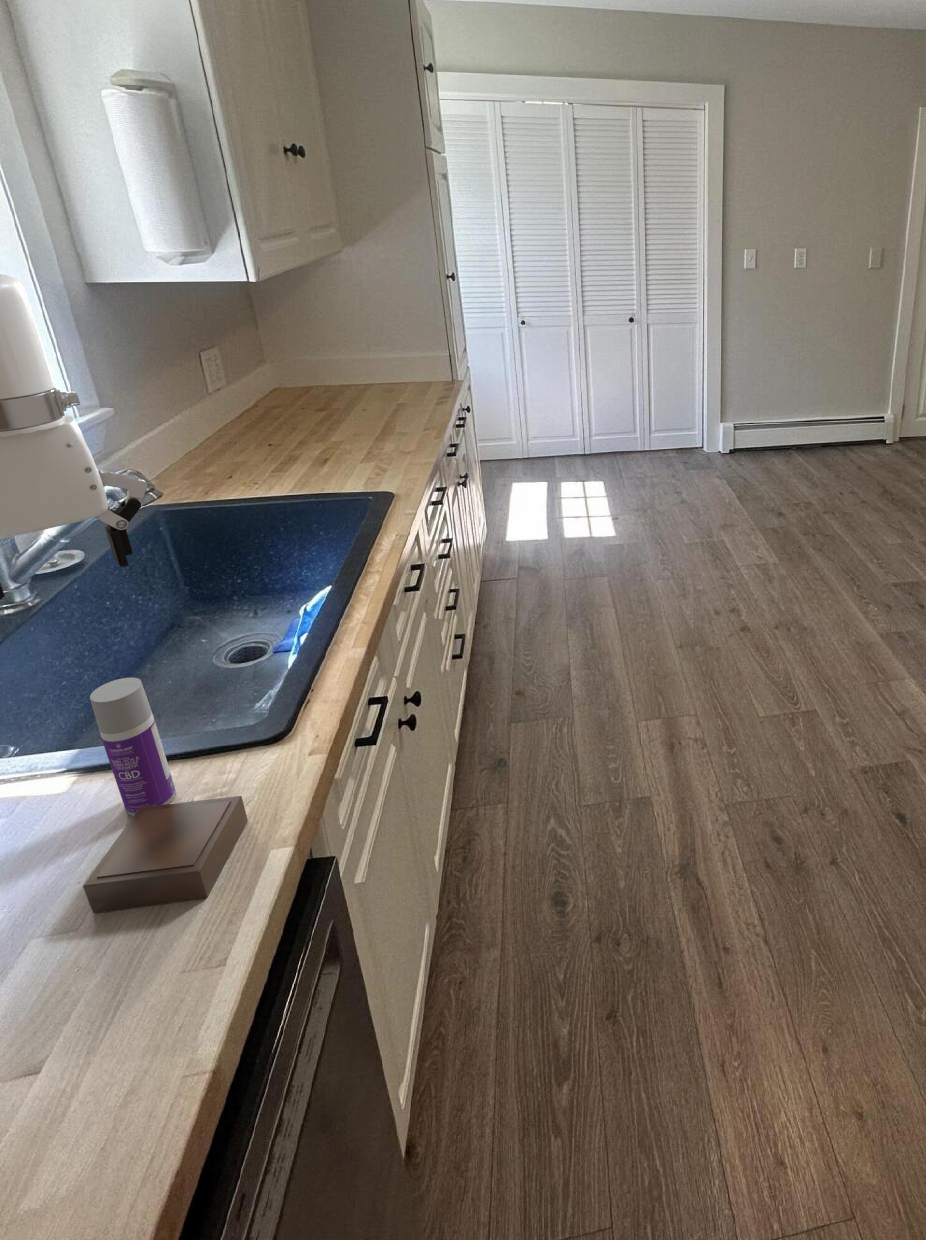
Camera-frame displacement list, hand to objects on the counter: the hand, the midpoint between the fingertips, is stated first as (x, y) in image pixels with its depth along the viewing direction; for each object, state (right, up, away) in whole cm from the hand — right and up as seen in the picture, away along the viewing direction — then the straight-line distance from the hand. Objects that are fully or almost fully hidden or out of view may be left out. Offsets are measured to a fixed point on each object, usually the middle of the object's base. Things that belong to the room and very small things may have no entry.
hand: (63, 578), depth 74 cm
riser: (+10, -30, +2) cm, 31 cm away
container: (+2, -27, +10) cm, 29 cm away
